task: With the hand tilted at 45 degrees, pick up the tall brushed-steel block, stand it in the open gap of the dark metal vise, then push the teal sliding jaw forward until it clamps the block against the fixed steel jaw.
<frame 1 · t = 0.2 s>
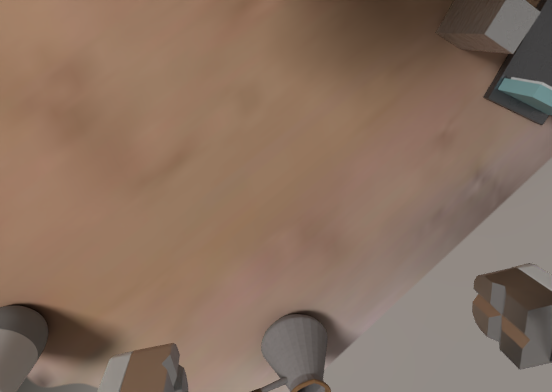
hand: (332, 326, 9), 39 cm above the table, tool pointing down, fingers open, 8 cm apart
smart speaker: (19, 321, 53), on the table
steel block: (458, 23, 45), on the table
sliding jaw: (545, 99, 47), point 4 cm above the table, slide at 0.0 cm
coffee pot: (263, 329, 62), on the table
vise: (550, 48, 49), on the table
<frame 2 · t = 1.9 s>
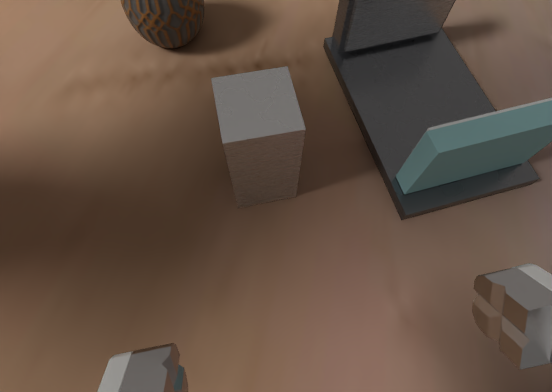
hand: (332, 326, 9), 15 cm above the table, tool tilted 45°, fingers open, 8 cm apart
steel block: (261, 176, 28), on the table
sliding jaw: (479, 146, 25), point 4 cm above the table, slide at 0.0 cm
vise: (417, 109, 31), on the table
vase: (174, 34, 34), on the table
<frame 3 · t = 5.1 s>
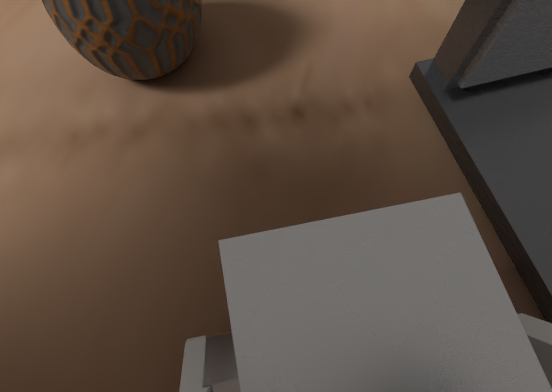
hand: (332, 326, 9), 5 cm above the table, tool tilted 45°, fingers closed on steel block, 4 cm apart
steel block: (318, 353, 14), on the table, touching gripper
vase: (150, 55, 20), on the table
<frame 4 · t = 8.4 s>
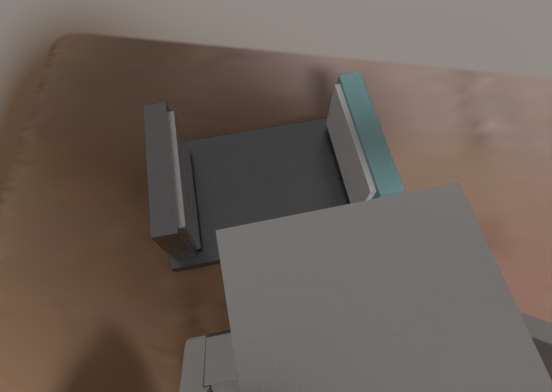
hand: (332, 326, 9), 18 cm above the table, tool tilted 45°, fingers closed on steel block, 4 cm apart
steel block: (317, 348, 14), point 13 cm above the table, touching gripper
sliding jaw: (357, 150, 27), point 4 cm above the table, slide at 0.0 cm
vise: (274, 188, 30), on the table
when the fingers open (7 cm above the table, at t = 12.1 s): steel block drops 2 cm, resting on vise.
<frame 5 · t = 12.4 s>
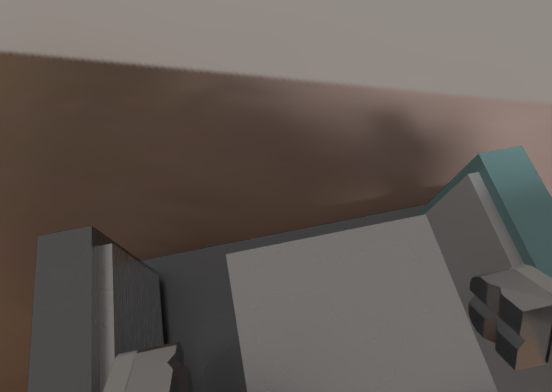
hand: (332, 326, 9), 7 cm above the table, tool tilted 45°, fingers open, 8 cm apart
steel block: (312, 349, 15), point 1 cm above the table, touching vise
sliding jaw: (510, 310, 13), point 4 cm above the table, slide at 0.0 cm
vise: (322, 351, 16), on the table
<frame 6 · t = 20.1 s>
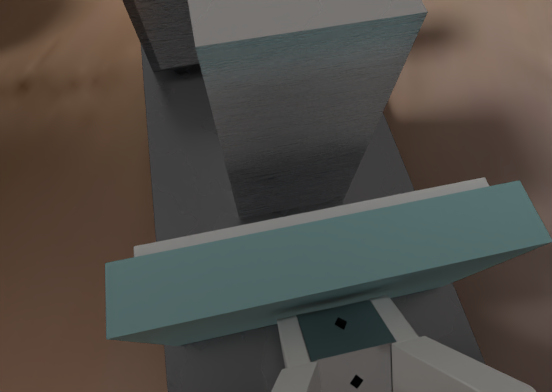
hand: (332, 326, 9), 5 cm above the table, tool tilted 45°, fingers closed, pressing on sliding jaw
steel block: (281, 162, 16), point 1 cm above the table, touching vise
sliding jaw: (316, 271, 11), point 4 cm above the table, slide at 1.5 cm, touching gripper
vise: (279, 183, 16), on the table
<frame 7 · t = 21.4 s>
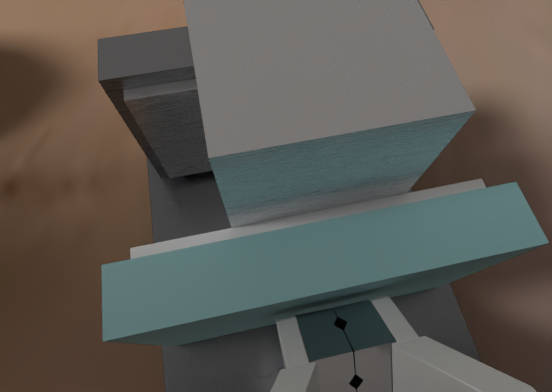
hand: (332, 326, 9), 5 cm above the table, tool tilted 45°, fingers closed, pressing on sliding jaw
steel block: (290, 210, 15), point 1 cm above the table, touching sliding jaw, vise
sliding jaw: (313, 272, 11), point 4 cm above the table, slide at 7.5 cm, touching gripper, steel block
vise: (309, 318, 14), on the table
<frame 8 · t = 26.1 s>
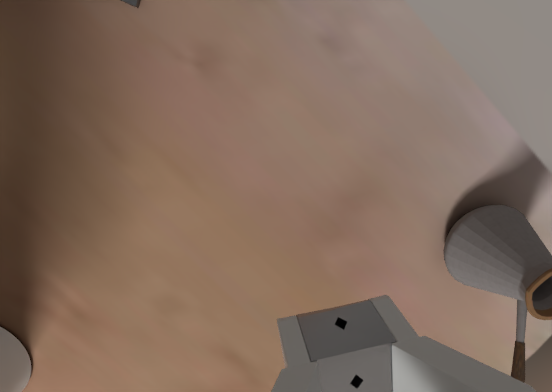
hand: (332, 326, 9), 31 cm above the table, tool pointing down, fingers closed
coffee pot: (459, 268, 50), on the table
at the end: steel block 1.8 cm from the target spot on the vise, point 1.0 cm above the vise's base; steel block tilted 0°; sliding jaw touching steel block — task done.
